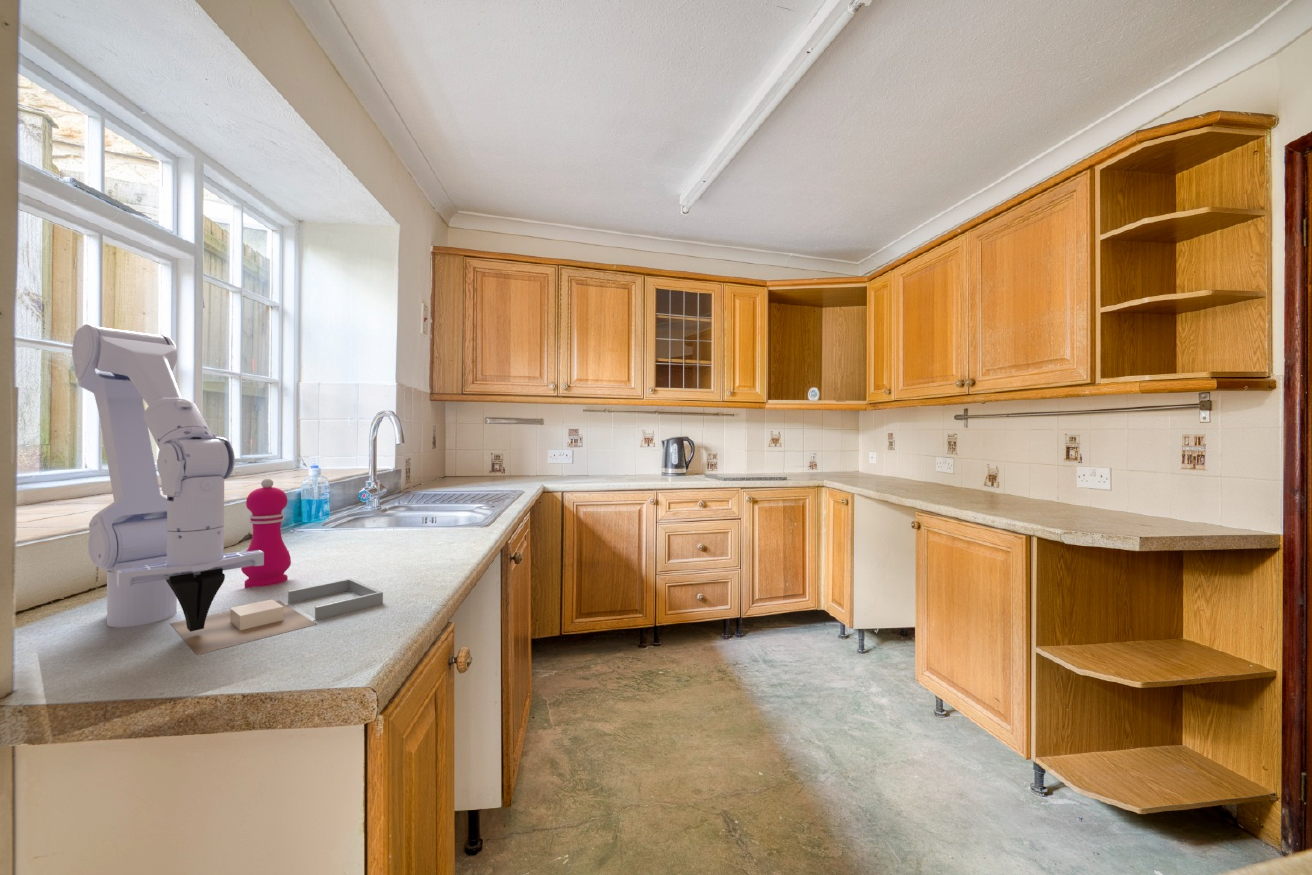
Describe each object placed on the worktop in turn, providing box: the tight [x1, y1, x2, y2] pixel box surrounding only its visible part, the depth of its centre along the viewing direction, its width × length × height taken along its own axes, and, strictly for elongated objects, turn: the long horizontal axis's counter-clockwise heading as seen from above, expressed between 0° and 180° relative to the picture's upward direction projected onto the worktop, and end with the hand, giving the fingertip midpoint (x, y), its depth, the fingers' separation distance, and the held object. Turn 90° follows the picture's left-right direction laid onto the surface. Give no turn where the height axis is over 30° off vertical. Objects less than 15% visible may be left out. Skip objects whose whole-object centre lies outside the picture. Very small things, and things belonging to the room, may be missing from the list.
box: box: [283, 577, 384, 622], centre depth 82 cm, size 12×10×3 cm
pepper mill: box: [240, 478, 292, 589], centre depth 93 cm, size 7×7×20 cm
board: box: [170, 600, 318, 656], centre depth 73 cm, size 16×13×1 cm
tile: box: [229, 598, 283, 630], centre depth 74 cm, size 5×5×2 cm
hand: (195, 628), depth 68 cm, fingers closed
